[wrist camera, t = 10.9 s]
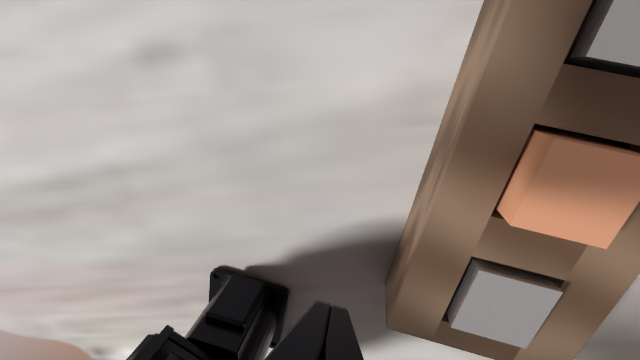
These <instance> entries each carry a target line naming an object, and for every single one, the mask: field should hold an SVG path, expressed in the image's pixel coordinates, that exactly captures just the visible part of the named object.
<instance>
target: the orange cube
mask: <svg viewBox="0 0 640 360" xmlns="http://www.w3.org/2000/svg"><path fill="white" fill-rule="evenodd" d="M639 201H640V153H637V152H634V151H631V150H628V149H625V148H622V147H619V146H616V145H613V144H610V143H607V142H604V141H601V140H598V139H594V138H589V137H585V136H580V135H575V134H570V133H566V132H561V131H556V130H552V129H547V128H542V127H538V126H533V128H532V130H531V132H530V134H529V136H528V138H527V140H526V142H525V144H524V147H523V149H522V151H521V153H520V155H519V157H518V159H517V161H516V163H515V166H514V168H513V170H512V172H511V174H510V176H509V178H508V180H507V182H506V185H505V187H504V189H503V191H502V193H501V195H500V197H499V199H498V201H497V203H496V206H495V208H496V209H497V210H498V211H499V213H500V214H501V215H502V216H503V217H504V219H505V220H506V221H507V222H508V224H509V225H510V226H514V227H518V228H522V229H526V230H530V231H534V232H538V233H543V234H547V235H551V236H555V237H559V238H563V239H567V240H571V241H575V242H579V243H583V244H587V245H591V246H595V247H599V248H603V249H607V248H608V246H609V245H610V243H611V242H612V241H613V239H614V238H615V236H616V235H617V233H618V232H619V230H620V229H621V227H622V226H623V225H624V223H625V222H626V220H627V219H628V217H629V216H630V214H631V213H632V211H633V210H634V208H635V207H636V206H637V204H638V203H639Z"/></svg>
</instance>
